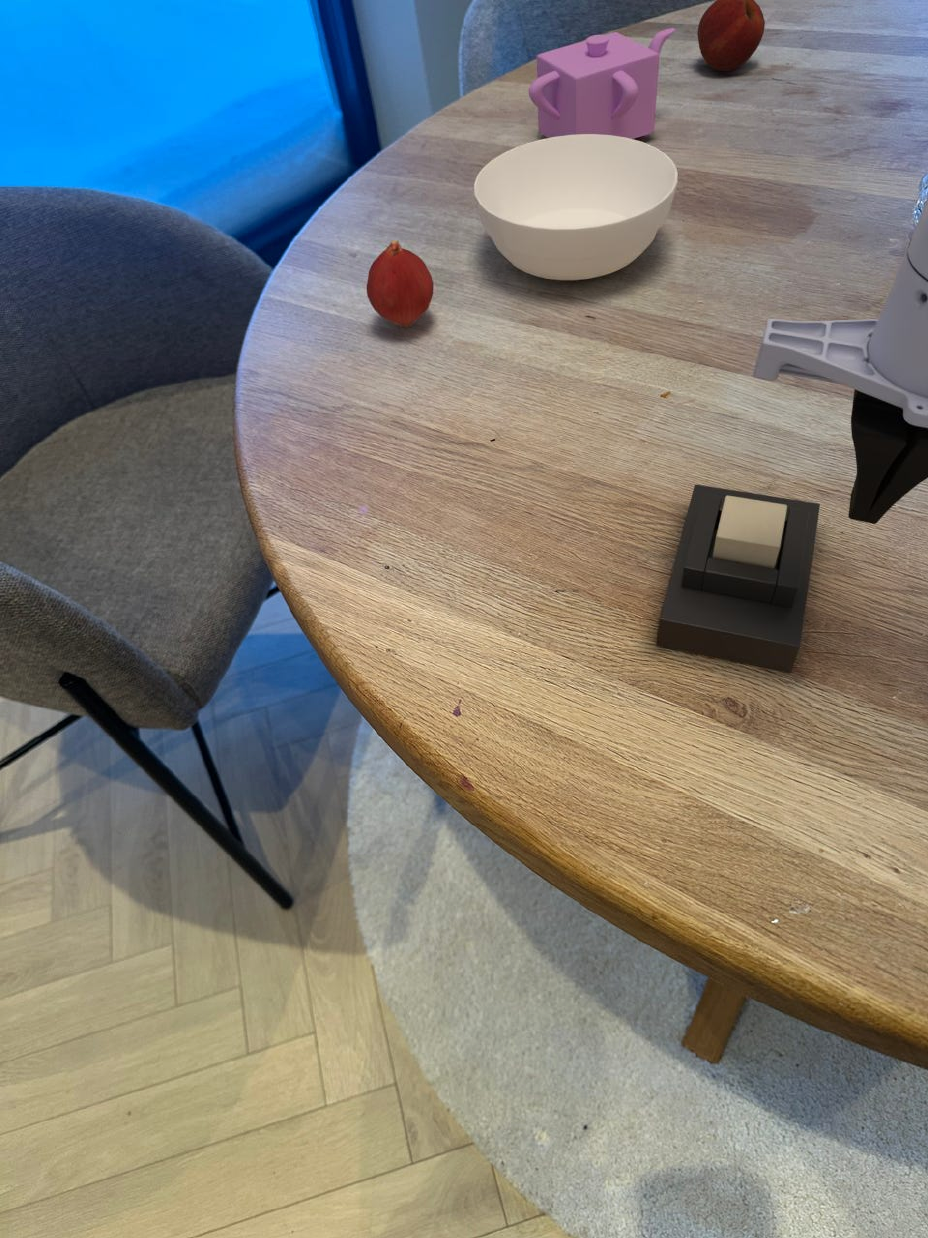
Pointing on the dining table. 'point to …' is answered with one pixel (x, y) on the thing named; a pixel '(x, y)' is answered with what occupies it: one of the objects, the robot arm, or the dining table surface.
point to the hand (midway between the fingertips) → (863, 508)
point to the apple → (730, 33)
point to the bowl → (575, 203)
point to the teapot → (598, 87)
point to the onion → (399, 285)
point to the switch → (750, 532)
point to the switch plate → (739, 588)
